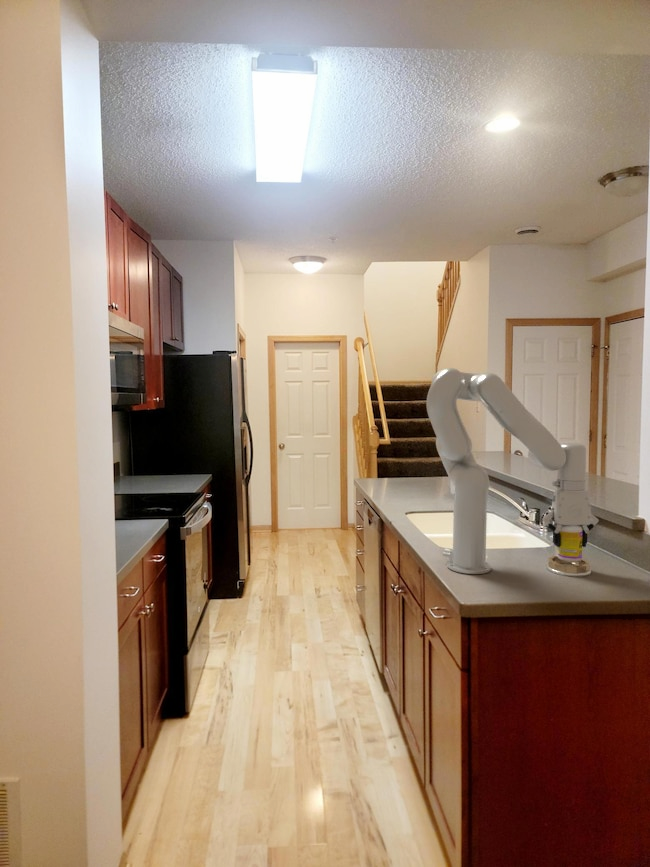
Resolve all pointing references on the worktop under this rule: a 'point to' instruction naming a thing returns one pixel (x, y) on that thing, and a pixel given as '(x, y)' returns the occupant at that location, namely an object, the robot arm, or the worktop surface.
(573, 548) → the supplement bottle
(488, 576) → the worktop surface
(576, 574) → the flange plate
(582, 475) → the robot arm
